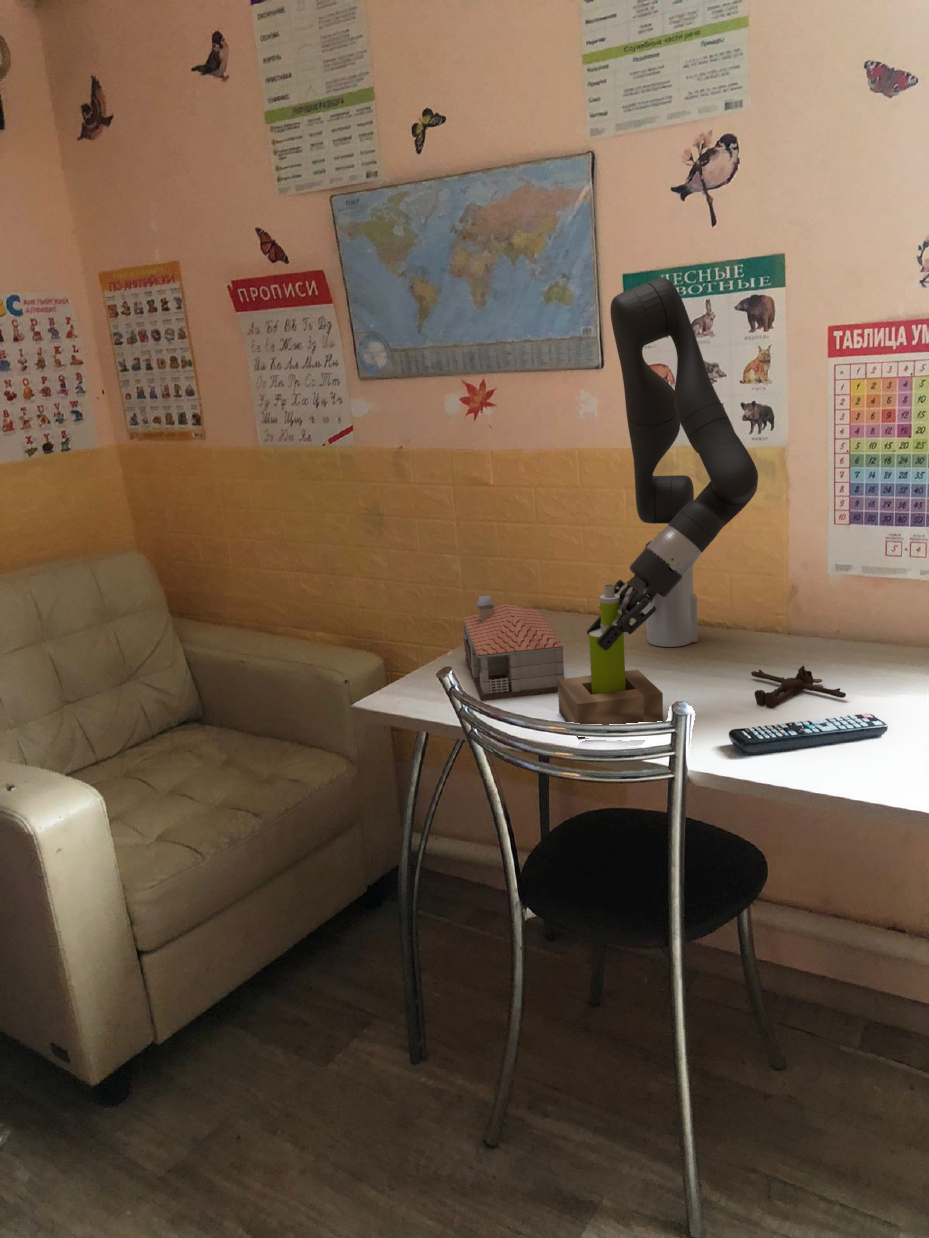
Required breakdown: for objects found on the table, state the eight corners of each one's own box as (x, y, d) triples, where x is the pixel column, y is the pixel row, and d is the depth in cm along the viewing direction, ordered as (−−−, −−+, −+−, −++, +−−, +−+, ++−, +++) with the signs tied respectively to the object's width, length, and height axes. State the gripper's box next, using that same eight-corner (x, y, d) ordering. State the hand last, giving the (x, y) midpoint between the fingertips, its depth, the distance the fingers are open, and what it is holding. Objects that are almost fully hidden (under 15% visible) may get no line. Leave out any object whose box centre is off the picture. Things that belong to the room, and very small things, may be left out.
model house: (464, 661, 205) (458, 588, 201) (541, 652, 207) (537, 580, 202) (479, 702, 183) (473, 621, 178) (565, 693, 184) (561, 612, 180)
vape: (630, 702, 169) (626, 584, 164) (604, 712, 166) (599, 593, 160) (614, 697, 172) (609, 581, 167) (588, 707, 169) (582, 589, 163)
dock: (638, 702, 176) (637, 669, 175) (663, 728, 165) (662, 693, 163) (559, 712, 174) (557, 679, 173) (578, 739, 163) (577, 704, 161)
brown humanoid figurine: (717, 680, 176) (766, 651, 185) (719, 702, 178) (767, 672, 186) (812, 704, 163) (860, 671, 172) (813, 728, 165) (860, 695, 173)
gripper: (634, 537, 170) (567, 616, 171) (665, 555, 156) (591, 640, 158) (666, 565, 172) (599, 642, 174) (699, 585, 158) (626, 669, 160)
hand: (596, 641), depth 166 cm, fingers closed on vape, 5 cm apart
